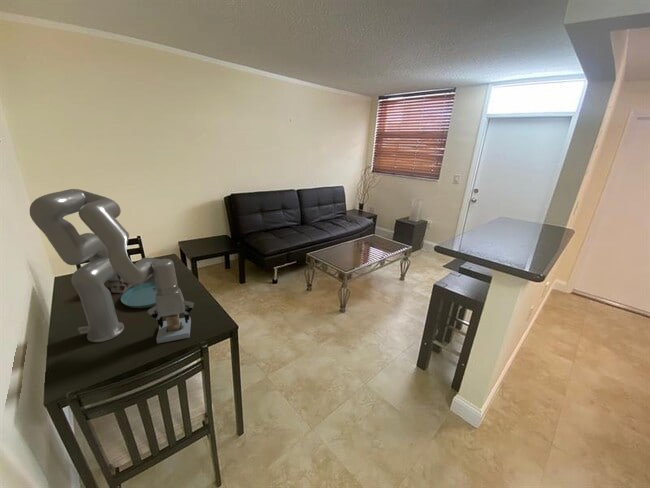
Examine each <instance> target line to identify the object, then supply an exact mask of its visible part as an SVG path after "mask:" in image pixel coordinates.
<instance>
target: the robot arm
mask: <svg viewBox="0 0 650 488" xmlns="http://www.w3.org/2000/svg"><path fill="white" fill-rule="evenodd" d="M121 212H122V210H121V206H120V205H119V204H118V203H117V202H116V201H115V200H113V199H112V198H109V197H106V196H102V195H99V194H97V193H93V192H91V191H86V190H83V189H79V188H69V189H64V190H61V191H56V192H51V193H47V194H44V195H42V196H41V195H40V196H39V197H37V198H35V200H33V201H32V202H31V203H30V206H29V216H30V218H31V220H32V222H33V223H34V225H36V227H38V229H39V230H40V231H41V232H42V233H43V234H44V236H45V237H46V238H47V240H48V242H49V243H50V244H51V246H52V247H53V249H54V250H55V252H56V253H57V254H58V256H59V257H60V259H61V260H62V261H63V262H64V263H65V264H66V265H69V266H77V265H81V264H83V263H84V262H86V261H88V263H86V264H84V265H82V266H81V267H79V268H77V270H75V271H74V272H73V274H72V275H71V284H72V286H73V287H74V289H75V291H76V292H77V294H78V296H79V299H80V302H81V305H82V308H83V311H84V314H85V317H86V321H87V324H88V325H87V326H79V327H78V328H77V330H78V333H79V335H85V334H86V338H87V340H88V341H89V342H92V343H102V342H106V341H109V340H112V339H114V338H117V337H118V336H119V335H120V334H122V333H123V331H124V329H125V325H124V323H123V322H121V321H119V320H118V316H117V311H116V307H115V304H114V301H113V296H112V292H111V290H109V288H108V287H106V286H105V283H106V282H107V281H109V280H108V279H109V278H111V277H112V276H113V275H115V274H116V273H117V274H118V275H119V276H120V277H121V278H122V279H123V280H124V281H125V282H126V283H128V284H130V285H133V286H132V287H135V286H139V285H141V284H144V283H146V282H147V281H148V280H149V279H150V278H151V277H154V281H155V283H156V287H155V288H153V291H156V292H157V293H156V305H155V306H152V307H150V308H149V309H148V310H147V314H149V315H150V317H152V318H154V319H155V320H156V322H157V324H158V326H160V328H162V327H163V321H164V319H163V317H166V316H169V315H175V314H179V315H180V314H184V318H185V322H186V323H188V320H189V317H190V314H189V313H191V311H192V310H193V307H194V306H195V302H193V301H189V300H185V298H184V296H183V295H184V294H183V293H182V290H181V288H180V287H179V285H178V279H177V275H176V268H175V264H174V261H173V260H172V259H170V258H160V259H159V258H154V257H147V256H146V257H143V258H141V259H139V260H138V261H136V262H135V263H133V261H132V260H131V259H130V257H129V255H128V252H127V246H128V244H129V239H130V234H129V232H128V231H127V230H126V229H125V228H124V226H123V225H122V224H121V223H120V222H119V221H118V220H117V218H118V217H119V216H120V215H121ZM75 213H78V217H79V218H80V220H81V221H82V222H83V223H84V224H85V225H86V226H87V227H88V229H90V231H91V232H87V233H81V234H80V233H79V232H78V230H77V229H76V227H75V226H74V224H72V223H71V222H69V221H68V220H67V219H65V218H64V217H66V216H69V215H73V214H75ZM186 306H188V308H187V307H186ZM155 311H156V312H155Z"/></svg>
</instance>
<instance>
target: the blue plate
mask: <svg viewBox="0 0 650 488" xmlns="http://www.w3.org/2000/svg"><path fill="white" fill-rule="evenodd" d="M155 287H156V283H155V280H154V281H148V282H144V283H143V284H141V285H139V286H132V287H130V288H129V289H127V290H126V291H125V292H123V293H122V294H121V297H120V302H121V303H122V304H123V305H125V306H126V307H129V308H132V309H133V308H134V309H145V308H152V307H154V306H156V293H157V292H156V291H153V288H155Z"/></svg>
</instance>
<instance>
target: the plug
mask: <svg viewBox="0 0 650 488" xmlns="http://www.w3.org/2000/svg"><path fill="white" fill-rule="evenodd" d="M165 321H166V322H167V327H168V332H171V331H177V330H181V325H180V314H175V315H169V316H165Z"/></svg>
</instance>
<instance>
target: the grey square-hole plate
mask: <svg viewBox="0 0 650 488" xmlns="http://www.w3.org/2000/svg"><path fill="white" fill-rule="evenodd" d="M179 319H180V325H181V330H177V331H171V332H168V327H167V322H166V320H163V327H162V328H160V325H158V326H159V327H158V331H157V334H156V338H155V339H156V344H162V343H168V342H172V341H179V340H183V339H189V338H190V335H191V325H192V319H191V316H189V320H188V323H186V322H185V317H181V318H180V317H179Z"/></svg>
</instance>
